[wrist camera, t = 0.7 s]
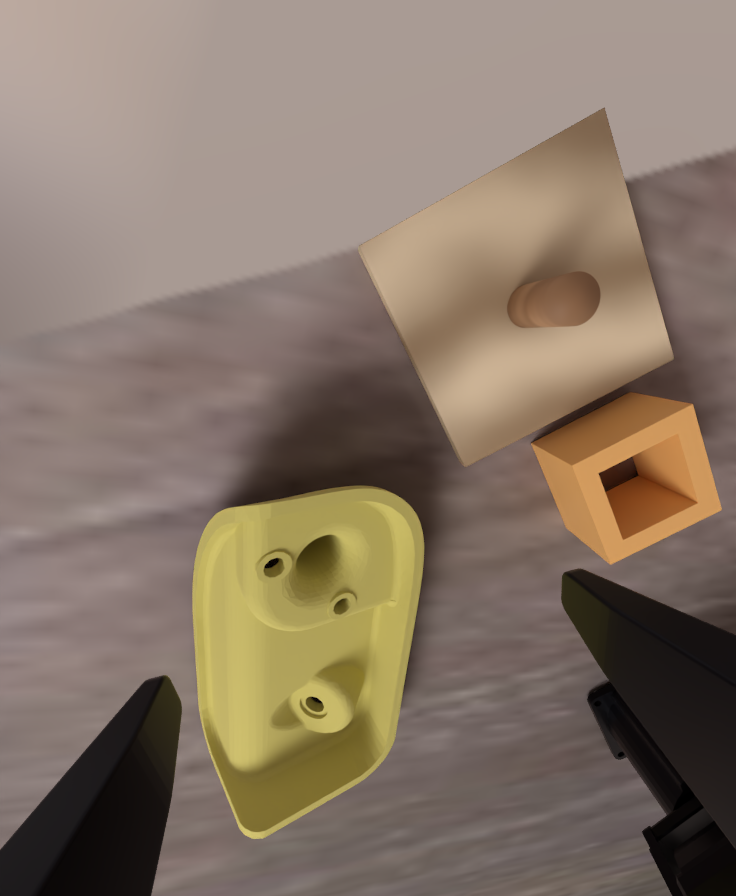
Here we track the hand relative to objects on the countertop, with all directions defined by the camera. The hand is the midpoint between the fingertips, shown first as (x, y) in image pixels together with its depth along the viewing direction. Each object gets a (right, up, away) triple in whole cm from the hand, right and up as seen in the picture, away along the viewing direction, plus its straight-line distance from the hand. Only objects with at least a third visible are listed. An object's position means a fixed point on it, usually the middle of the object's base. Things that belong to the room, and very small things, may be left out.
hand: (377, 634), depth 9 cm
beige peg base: (+7, +11, +11) cm, 18 cm away
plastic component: (-4, -5, +16) cm, 17 cm away
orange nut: (+13, +3, +14) cm, 19 cm away
